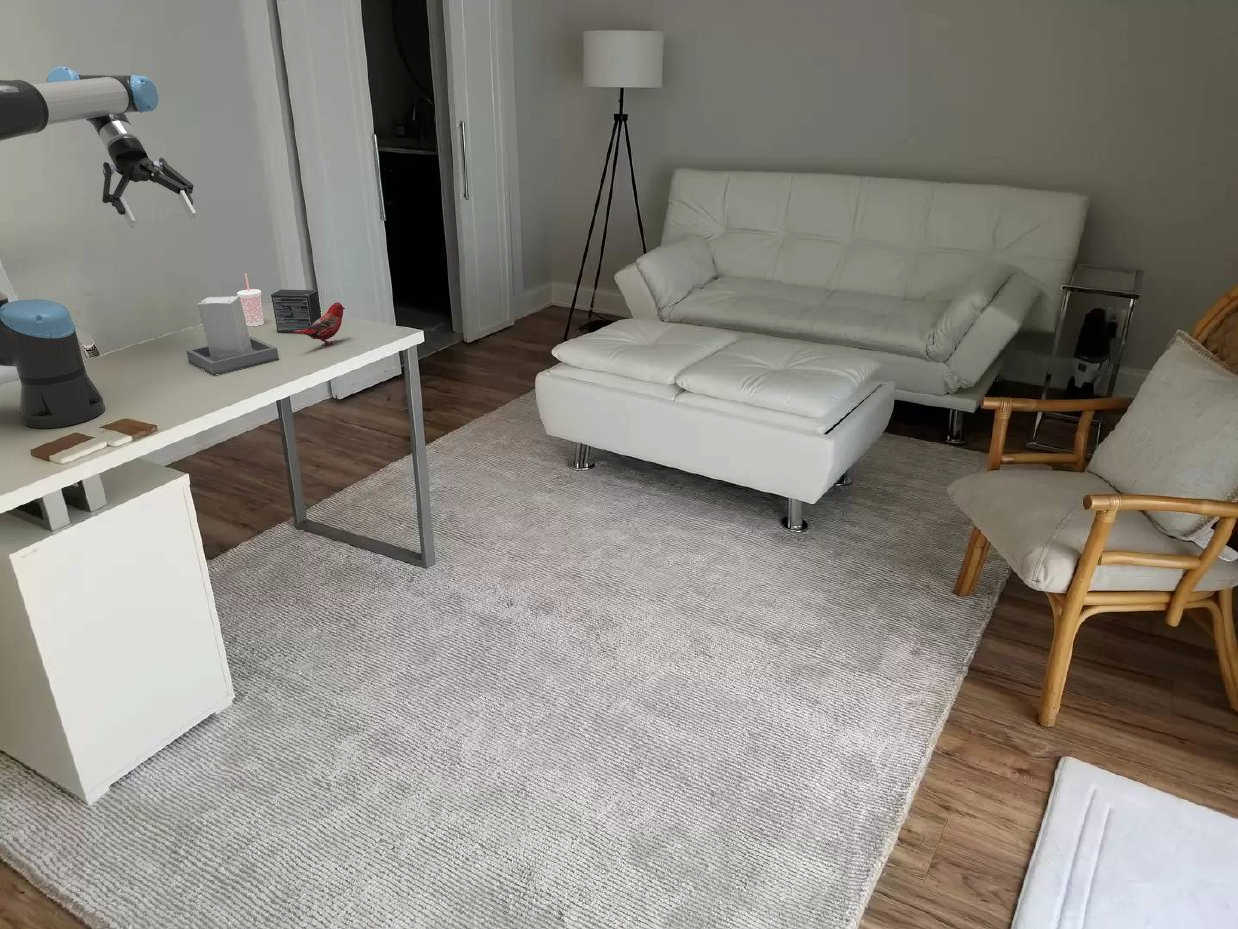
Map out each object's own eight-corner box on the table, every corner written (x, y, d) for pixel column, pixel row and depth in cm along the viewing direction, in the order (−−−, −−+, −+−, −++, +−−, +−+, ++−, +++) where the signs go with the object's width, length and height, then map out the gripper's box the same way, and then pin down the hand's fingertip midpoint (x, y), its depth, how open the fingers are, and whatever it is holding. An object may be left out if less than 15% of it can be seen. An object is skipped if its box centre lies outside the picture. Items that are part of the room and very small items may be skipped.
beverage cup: (238, 325, 244) (228, 274, 238) (255, 319, 249) (246, 269, 243) (253, 328, 242) (244, 277, 236) (271, 322, 246) (262, 272, 241)
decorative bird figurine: (352, 338, 234) (348, 300, 229) (299, 357, 220) (293, 317, 216) (344, 336, 235) (339, 299, 231) (291, 355, 221) (285, 315, 217)
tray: (214, 375, 208) (211, 363, 206) (188, 362, 217) (186, 350, 215) (279, 359, 218) (277, 347, 217) (252, 347, 227) (250, 335, 226)
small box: (324, 327, 243) (318, 289, 239) (314, 334, 237) (308, 295, 233) (286, 326, 244) (280, 288, 239) (276, 333, 238) (269, 294, 234)
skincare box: (253, 355, 219) (242, 295, 213) (243, 363, 214) (231, 302, 208) (220, 354, 220) (208, 295, 213) (209, 362, 214) (196, 301, 208)
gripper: (175, 153, 221) (214, 223, 218) (65, 162, 205) (105, 237, 202) (180, 131, 216) (219, 203, 213) (66, 139, 199) (108, 216, 196)
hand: (164, 220), depth 207 cm, fingers open, 13 cm apart
